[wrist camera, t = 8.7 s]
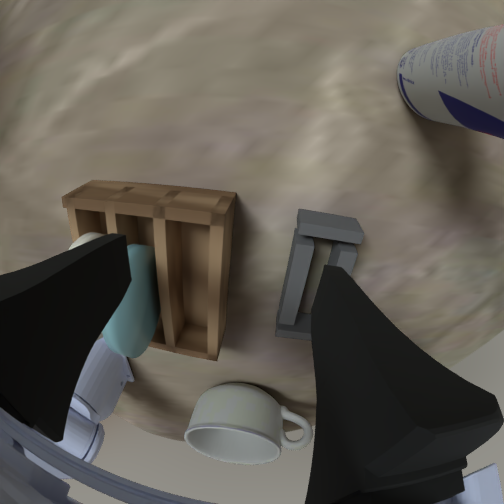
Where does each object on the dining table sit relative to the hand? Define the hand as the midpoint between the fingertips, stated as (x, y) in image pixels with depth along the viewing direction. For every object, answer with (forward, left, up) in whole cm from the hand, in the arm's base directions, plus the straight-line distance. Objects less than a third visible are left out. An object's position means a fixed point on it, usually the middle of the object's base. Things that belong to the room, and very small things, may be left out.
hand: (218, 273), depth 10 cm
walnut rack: (-7, +7, -10) cm, 14 cm away
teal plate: (-6, +7, -9) cm, 13 cm away
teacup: (-25, -3, -11) cm, 27 cm away
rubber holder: (-6, -5, -10) cm, 13 cm away
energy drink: (+10, -11, -11) cm, 18 cm away
